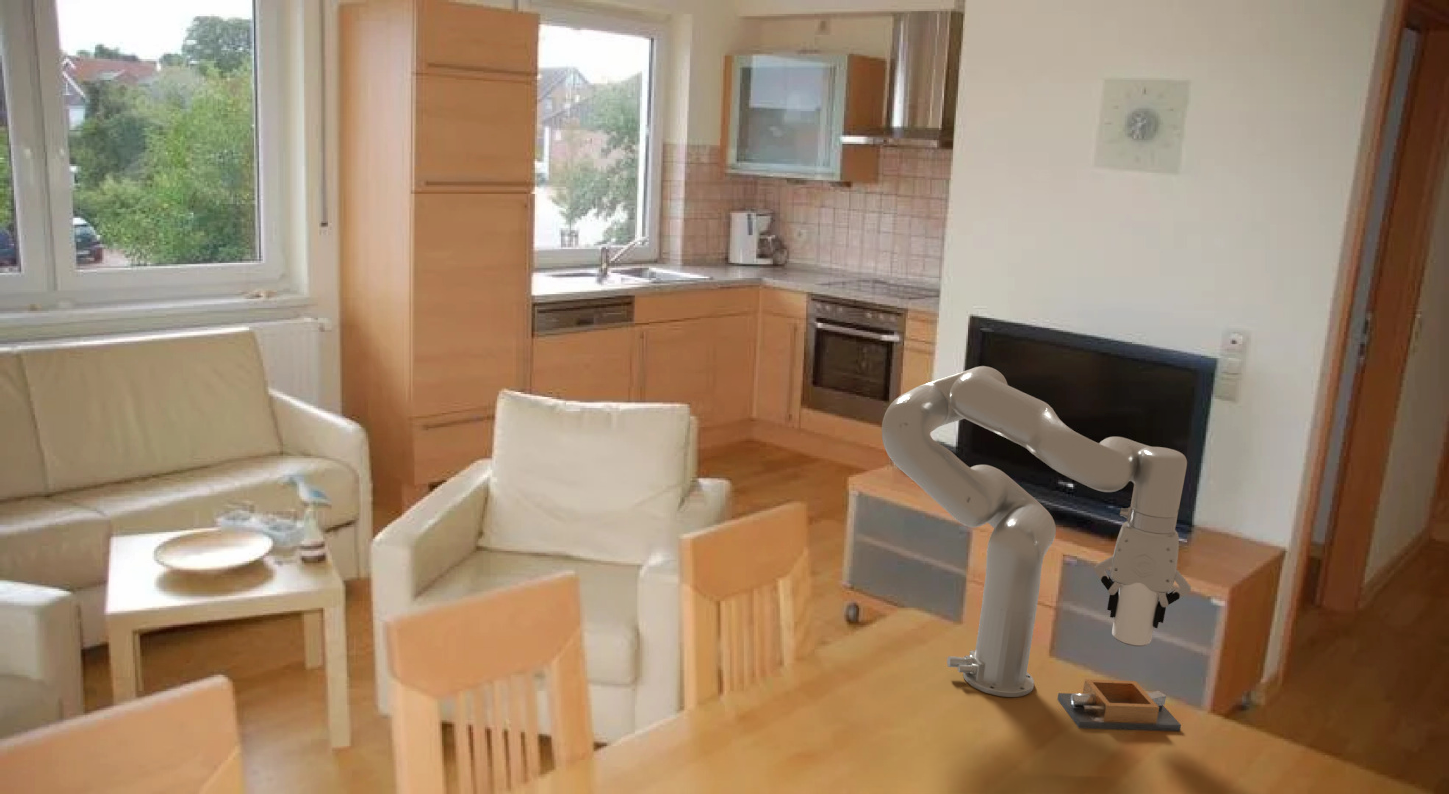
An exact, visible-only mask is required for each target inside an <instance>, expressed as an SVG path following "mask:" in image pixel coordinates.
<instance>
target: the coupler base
mask: <svg viewBox="0 0 1449 794" xmlns="http://www.w3.org/2000/svg"><path fill="white" fill-rule="evenodd" d="M1166 698H1167V694H1164V693H1163V692H1161V691H1160V690H1156V691H1155V690H1154V691H1152V692H1148V693H1147V692H1146V691H1145V690H1144V689H1143V687H1142V686H1141V685H1140V684H1139V683H1138V682H1137V681H1135V680H1114V679H1113V680H1111V679H1090V678H1089V679H1087V678H1086V679H1084V682H1083V689H1082V693H1078V692H1077V693H1075V692H1074V693H1065V692H1058V694H1057V701H1058V702H1059V704H1060V705H1061V706H1062V707H1063V710H1065V711H1066V713H1067V714H1068V715H1069V717H1070V718H1071V720H1072V722H1073V723H1074V724H1075V725H1076V727H1077V728H1078V729H1091V730H1092V729H1096V730H1097V729H1098V730H1128V731H1129V730H1131V731H1158V732H1160V731H1161V732H1163V731H1165V732H1181V726H1182V724H1181V723H1180V722H1179V721H1178V719H1176V718H1175V717H1174V715H1173V714H1172V713H1171V712H1170V711H1169V710H1168V709H1167V708H1166V707H1165V704H1166V700H1167V699H1166Z"/></svg>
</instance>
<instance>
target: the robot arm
mask: <svg viewBox="0 0 1449 794" xmlns="http://www.w3.org/2000/svg"><path fill="white" fill-rule="evenodd" d="M962 420H967V421H969V422H971V423H973V424H975V425H978V426H979V427H982V428H984V429H985V430H988V431H990V432H993V433H994V434H997V435H998V436H1001V437H1003V438H1006V439H1007V440H1009V441H1011V442H1012V443H1015V444H1018V445H1020V446H1021V447H1023V448H1025V449H1027V450H1028V451H1029V453H1031V454H1032V455H1034V456H1035V457H1036V458H1037V459H1039V460H1040V461H1041V462H1043V463H1045V464H1046V465H1047V466H1049V468H1051V469H1052V470H1054V471H1056V472H1057V473H1059V474H1061V475H1063V476H1065V477H1067V478H1069V479H1071V480H1074V481H1075V482H1077V483H1080V484H1081V485H1084V486H1087V487H1088V488H1091V489H1093V490H1096V491H1099V492H1103V493H1113V492H1117V491H1119V490H1122V489H1124V488H1125V487H1126V486H1127V485H1128V484H1129V482H1132V483H1133V489H1132V490H1133V491H1132V497H1131V501H1130V502H1131V503H1130V506H1129V507H1128V508H1127V507H1126V508H1123V507H1121V508H1120V511H1119V516H1120V517H1124V518H1125V519H1126V520H1127V521H1125V522H1123V523H1122V524H1121V527H1120V530H1119V533H1118V536H1117V539H1116V542H1115V546H1114V550H1113V555H1111V556H1110V557H1108V558H1106V559H1104V560H1102V561H1100V562H1099V563H1097V564H1094V568H1093V571H1094V573H1095V574H1096V576H1097V577H1098V578H1099V579H1100V581H1101V583H1102V585H1103V586H1104V587H1105V588H1106V590H1107V593H1108V594H1109V596H1108V597H1109V598H1108V603H1107V607H1106V610H1107V611H1110V615H1109V618H1112V619H1114V617H1115V612H1116V607H1117V601H1118V594H1119V588H1120V587H1121V585H1122V584H1124V585H1131V584H1134V583H1142V584H1144V585H1145V586H1146V587H1147V588H1148V589H1149V590H1151V591H1154V592H1158V597H1159V601H1158V605H1157V608H1156V613H1155V619H1154V624H1153V627H1154V629H1158V626H1159V623H1160V624H1164V621H1165V620H1164V619H1165V615H1166V610H1167V607H1168V606H1169V605H1171V604H1173V603H1175V602H1176V601H1178V600H1180V598H1182V597H1184V596H1186V595H1187V594H1189V593H1190V592H1191V590H1192V586H1191V584H1189V582H1188V581H1187V580H1186V579H1185V577H1184V576H1183V575H1182V574H1181V573H1180V571H1179V570H1178V569H1177V566H1178V560H1179V547H1180V545H1179V541H1180V540H1179V533H1178V532H1177V530H1176V527H1177V522H1178V521H1177V520H1178V514H1179V512H1180V511H1179V510H1180V506H1181V505H1180V503H1181V499H1182V495H1183V488H1184V483H1185V477H1186V472H1187V466H1188V460H1187V458H1186V456H1185V454H1183V453H1182V452H1180V451H1179V450H1176V449H1172V448H1168V447H1161V446H1150V445H1147V444H1144V443H1140V442H1137V441H1134V440H1132V439H1129V438H1126V437H1123V436H1109V437H1105V438H1104V439H1103V440H1101V441H1100V442H1096V441H1094V440H1092V439H1090V438H1089V437H1086V436H1084V435H1083V434H1080V433H1079V432H1076V431H1074V430H1073V428H1071V427H1069V426H1067V425H1066V423H1064V422H1063V421H1062V420H1061V419H1060V418H1059V416H1058V414H1056V411H1054V408H1053V407H1051V405H1049V404H1048V403H1047V402H1045V401H1043V400H1042V399H1039V398H1036V397H1035V396H1032V395H1030V394H1028V393H1025V392H1023V391H1021V390H1019V389H1017V388H1015V387H1013V386H1010V385H1009V384H1008V381H1007V379H1006V378H1005V376H1004V374H1002V373H1001V372H1000V371H999V370H997V369H995V368H993V367H990V366H985V365H981V366H975V367H973V368H970V369H967V370H964V371H962V372H958V373H955V374H953V375H952V374H951V375H949V376H946V377H943V378H938V379H936V380H933V381H930V382H926V383H924V384H921V385H918V386H916V387H914V388H912V389H910V390H908V391H907V392H905V393H902V394H901V395H899V396H898V397H897V398H895V399H894V400H893V401H892V402H891V403H890V404H889V406H888V407H887V409H886V411H885V413H884V416H883V418H882V422H881V439H882V444H883V447H884V449H885V451H886V454H887V456H888V457H889V458H890V460H891V462H893V464H894V465H895V466H896V467H897V468H898V469H899V470H900V471H902V472H903V473H904V474H905V475H906V476H907V477H908V478H910V479H911V480H912V481H913V482H914V483H916V484H917V486H919V487H920V488H921V489H922V490H923V491H924V492H925V493H926V494H927V495H928V496H929V497H931V498H932V500H934V501H935V503H937V504H938V505H939V506H940V507H941V508H943V509H944V510H945V511H946V513H948V514H949V515H950V516H951V517H952V518H953V519H955V520H956V521H957V522H959V523H960V524H961V525H962V526H965V527H968V528H979V527H983V526H985V525H987V524H989V525H990V527H992V528H993V530H992V531H991V534H990V536H989V539H988V543H987V550H986V563H985V564H986V568H985V578H984V586H983V592H982V593H983V594H982V601H981V602H982V603H981V609H980V616H979V622H978V624H979V625H978V628H977V630H978V631H977V637H976V643H975V649H974V650H969V654H968V655H964V656H963V657H961V656H953V655H952V656H950V655H949V656H947V658H946V663H947V667H948V668H957V672H958V673H962V675H963V678H964V680H965V682H967V683H968V684H969V685H970V686H971V687H973V688H974V689H976V690H978V691H981V692H983V693H986V694H989V695H993V696H997V697H1004V698H1018V697H1019V698H1020V697H1023V696H1026V695H1028V694H1030V693H1032V691H1033V689H1034V686H1035V680H1034V678H1033V676H1032V675H1031V674H1030V673H1029V672H1028V666H1029V659H1030V654H1031V649H1032V643H1033V642H1032V641H1033V637H1034V636H1033V635H1034V628H1035V622H1036V615H1037V611H1038V601H1039V594H1040V587H1041V577H1042V575H1041V574H1042V567H1043V563H1044V558H1045V556H1046V554H1047V552H1048V550H1049V549H1050V547H1052V545H1053V542H1054V541H1055V538H1056V533H1057V528H1056V522H1055V520H1054V518H1053V516H1052V515H1051V513H1050V512H1049V511H1048V510H1047V509H1046V508H1045V506H1043V505H1042V504H1041V503H1040V502H1039V501H1037V499H1036V498H1035V497H1033V495H1032V494H1030V493H1028V492H1027V491H1026V490H1025V489H1024V488H1023V487H1022V486H1021V485H1019V484H1018V483H1017V482H1016V481H1015V480H1014V479H1012V478H1011V477H1010V476H1009V475H1008V474H1006V473H1005V472H1004V471H1002V470H1001V469H999V468H997V467H994V466H992V465H989V464H976V465H973V466H971V467H970V466H968V465H967V464H966V463H965V462H964V461H962V460H961V459H960V458H959V457H957V455H955V454H954V453H953V452H952V450H950V449H948V448H947V447H946V446H944V445H942V444H940V443H938V442H937V440H935V439H934V438H932V436H931V433H932V432H933V431H935V430H936V429H938V428H939V427H942V426H945V425H947V424H948V425H949V424H952V423H955V422H958V421H962ZM1109 568H1110V570H1109V571H1110V573H1109V574H1108V573H1107V571H1106V570H1107V569H1109ZM1174 583H1176V584H1177V586H1178V588H1177V589H1175V590H1173V587H1174Z"/></svg>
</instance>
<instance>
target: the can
mask: <svg viewBox="0 0 1449 794" xmlns="http://www.w3.org/2000/svg"><path fill="white" fill-rule="evenodd" d="M1158 601H1159V597H1158V592H1154V591H1151V590H1149V589H1148V588H1147V587H1146V586H1145V585H1144V584H1142V583H1134V584H1131V585H1124V584H1122V585H1121V587H1120V588H1119V594H1118V601H1117V607H1116V612H1115V617H1113V623H1112V630H1111V634H1112V636H1113V638H1114V639H1115V640H1116V641H1118V642H1120V643H1123V644H1125V645H1127V646H1128V645H1129V646H1133V647H1144V646H1147V645H1149V644H1150V643H1152V638H1153V633H1154V629H1155V628H1154V627H1153V624H1154V619H1155V613H1156V608H1157V605H1158Z"/></svg>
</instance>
